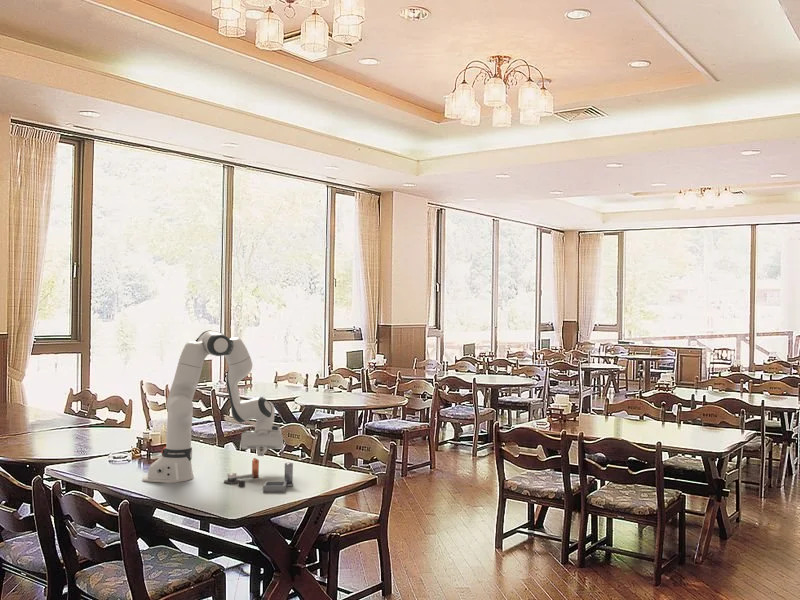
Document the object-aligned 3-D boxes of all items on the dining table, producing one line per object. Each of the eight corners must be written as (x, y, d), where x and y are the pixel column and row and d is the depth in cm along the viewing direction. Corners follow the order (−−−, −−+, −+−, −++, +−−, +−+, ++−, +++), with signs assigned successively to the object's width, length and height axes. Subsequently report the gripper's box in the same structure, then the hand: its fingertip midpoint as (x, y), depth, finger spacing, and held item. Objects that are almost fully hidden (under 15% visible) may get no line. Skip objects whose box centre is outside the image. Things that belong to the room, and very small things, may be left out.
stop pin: (282, 486, 338) (283, 464, 338) (283, 484, 343) (284, 462, 343) (292, 487, 338) (293, 464, 339) (293, 484, 343) (294, 462, 343)
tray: (263, 492, 328) (263, 485, 328) (265, 487, 337) (265, 481, 337) (284, 492, 328) (284, 486, 328) (286, 487, 337) (286, 481, 337)
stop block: (238, 486, 338) (238, 480, 338) (242, 485, 339) (242, 480, 339) (240, 486, 337) (241, 481, 337) (244, 486, 338) (244, 480, 338)
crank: (229, 481, 342) (229, 462, 342) (226, 479, 346) (226, 460, 346) (259, 478, 349) (260, 459, 350) (256, 476, 353) (257, 457, 353)
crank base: (222, 484, 341) (222, 482, 341) (225, 480, 348) (225, 478, 348) (238, 484, 341) (238, 482, 341) (240, 480, 348) (241, 479, 348)
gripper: (241, 427, 369) (237, 451, 359) (283, 427, 370) (281, 451, 360) (242, 435, 374) (239, 459, 364) (284, 435, 375) (282, 459, 365)
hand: (260, 455), depth 362 cm, fingers closed
